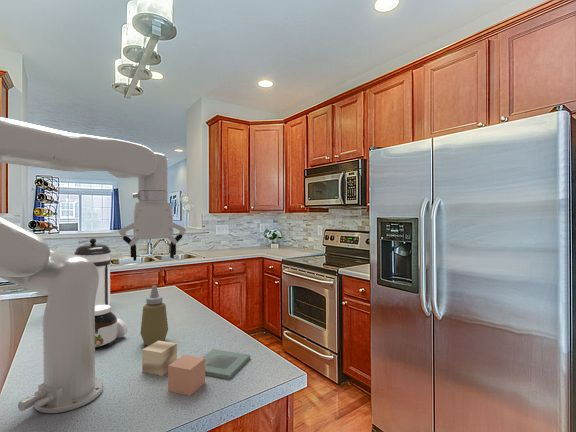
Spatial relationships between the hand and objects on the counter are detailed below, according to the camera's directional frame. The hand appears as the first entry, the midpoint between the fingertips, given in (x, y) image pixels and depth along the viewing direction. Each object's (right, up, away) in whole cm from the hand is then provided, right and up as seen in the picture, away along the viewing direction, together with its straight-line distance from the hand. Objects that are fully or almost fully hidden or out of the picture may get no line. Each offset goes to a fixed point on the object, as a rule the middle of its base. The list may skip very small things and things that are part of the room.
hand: (153, 258), depth 91 cm
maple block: (+4, -28, -6) cm, 29 cm away
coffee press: (-43, -27, +41) cm, 65 cm away
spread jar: (-20, -28, +11) cm, 36 cm away
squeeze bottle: (-4, -28, +11) cm, 30 cm away
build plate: (+20, -28, -3) cm, 34 cm away
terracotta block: (+14, -29, -14) cm, 35 cm away
